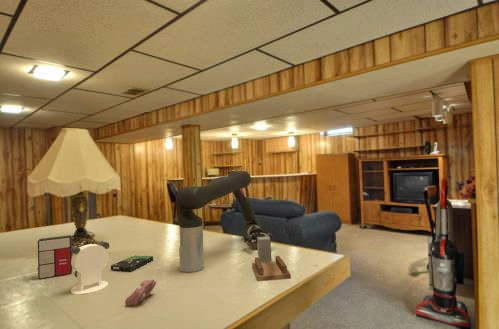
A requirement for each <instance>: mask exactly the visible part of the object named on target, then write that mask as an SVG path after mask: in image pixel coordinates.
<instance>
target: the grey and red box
mask: <svg viewBox="0 0 499 329" xmlns="http://www.w3.org/2000/svg"><path fill="white" fill-rule="evenodd" d="M72 244H73V238H72V235H70V234H68V235H60V236H51V237H45V238H44V237H43V238H42V237H41V238H39V239H38V240H37V271H38V272H37V278H38V280H42V279H41V278H44V279H47V278H48V277H50V278H54V277H55V276H56V277H61V276H60V275H62V276H67V275H66V274H68V275H71V274H72V273H73V268H72V265H71V259H72V256H73V253H72V252H70V250H71V248H72V247H73V245H72ZM48 279H49V278H48Z"/></svg>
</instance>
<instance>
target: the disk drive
mask: <svg viewBox="0 0 499 329" xmlns="http://www.w3.org/2000/svg"><path fill="white" fill-rule="evenodd" d="M151 261H153V262H154V256H153V255H132V256H130V257H127V258H124V259H123V260H120V261H118V262H115V263H114V264H111V265H110V271H111V270H112V271H111V272H120V271H121V273H134V272H135V271H137V270H139V269H141V268H142V266H143V267H144V265H145V266H147V265H148V264H147V263H149V262H151ZM151 263H152V262H151ZM146 264H147V265H146ZM149 264H150V263H149ZM140 267H141V268H140ZM136 269H137V270H136Z"/></svg>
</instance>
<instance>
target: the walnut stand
mask: <svg viewBox="0 0 499 329" xmlns="http://www.w3.org/2000/svg"><path fill="white" fill-rule="evenodd" d="M251 267H252V270H253V273H254V276H255V278H256V281H257V282H261V281H262V282H263V281H264V282H265V281H275V280H287V279H291V277H292V275H291V273H290V271H289V270H288V266H287V264H286V263H285V261H284V260H283V259H282V258H281V256H280V255H275V261H272V262H262V263H261V262H260V260H259V258H258V256H257V257H254V262H252V264H251Z"/></svg>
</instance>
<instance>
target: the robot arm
mask: <svg viewBox="0 0 499 329" xmlns="http://www.w3.org/2000/svg"><path fill="white" fill-rule="evenodd" d="M251 180H252V178H251V174H250V173H249V172H248V171H247V170H236V171H235V170H234V171H230V172H229V173H228V175H226V176H220V177H216V178H214V179H211V180H210V181H209V182H208V183H207V185H201V186H181V187H180V188H178V190H177V192H176V196H175V207H176V216H177V217H176V218H177V221H178V223H179V224H178V225H179V248H178V251H179V252H178V253H179V272H184V273H194V272H195V273H196V272H199V271H202V270H203V269H205V261H204V258H205V257H204V233H203V232H204V230H203V226H204V225H203V218H202V217H200V216H198V215H197V214H196V213H195V212H194V210H200V209H202V208H204V207H205V206H206V205H208V204H210V203H211V202H212V201H216V200H219V199H221V198H224V197H225V196H227V195H229V194H231V193H232V194H233V197H234V198H235V200H236V203H237V204H238V206H239V210H240V213H241V216H242V220H243V221H245V223H244V224H242V232H243V242H244V243H249V244H250V245H251V244H252V243H255V244H257V237H267V236H269V238H270V239H271V241H274V234H273V233H271V232H268V233H265V232H264V231H263V229H262V225H261V222H259V220H258V218H257V216H256V215H255V212H254V208H253V204H252V202H251V201H250V200H249V199H248V198H247V196H245V194H243V192H242V190H241V189H246V188H248V187H249V186H250V184H251Z"/></svg>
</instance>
